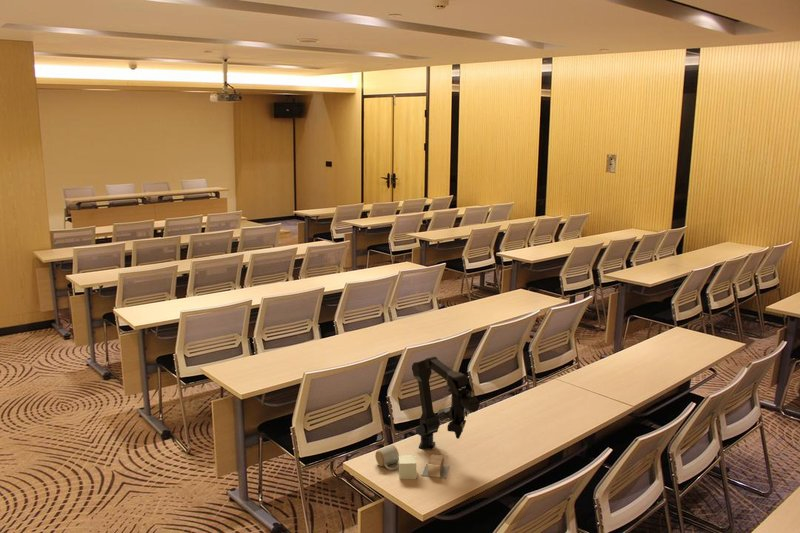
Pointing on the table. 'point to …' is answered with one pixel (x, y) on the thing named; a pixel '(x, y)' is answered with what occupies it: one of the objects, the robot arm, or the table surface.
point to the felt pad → (443, 473)
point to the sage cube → (407, 466)
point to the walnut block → (435, 465)
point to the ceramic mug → (387, 456)
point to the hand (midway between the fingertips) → (457, 438)
